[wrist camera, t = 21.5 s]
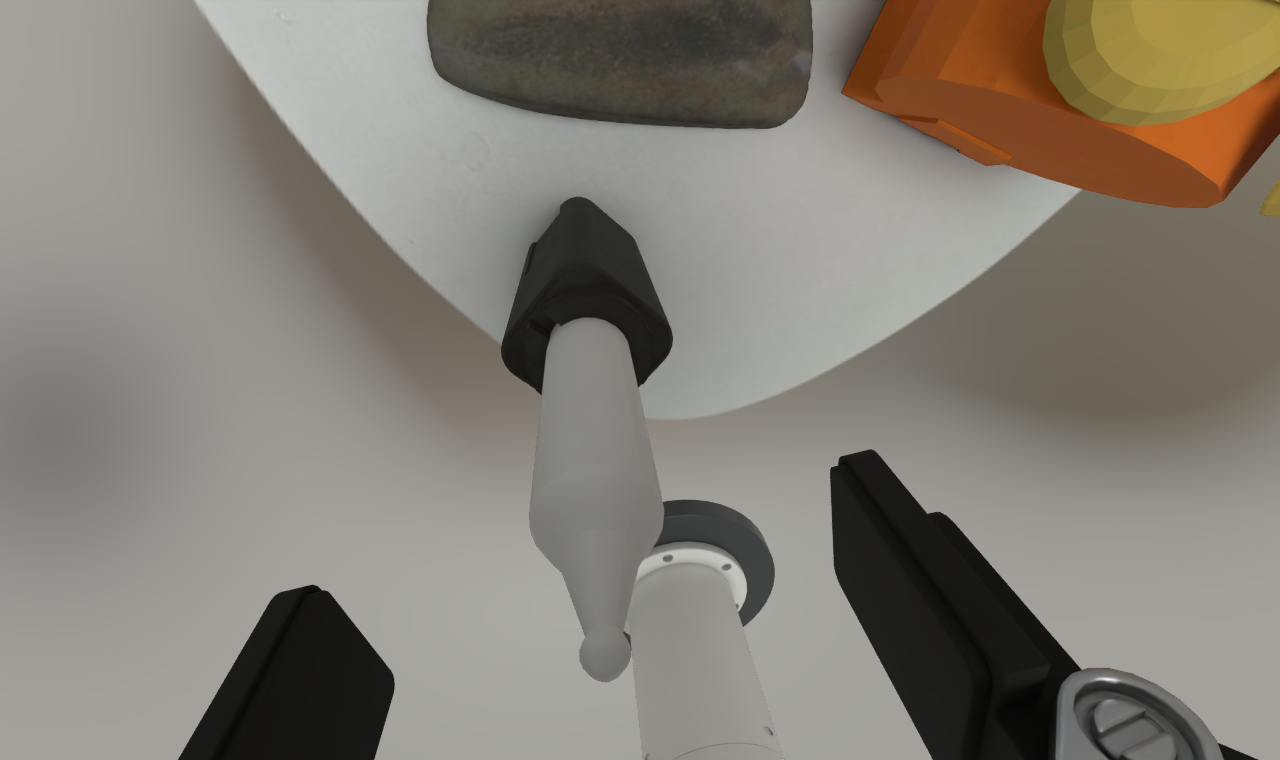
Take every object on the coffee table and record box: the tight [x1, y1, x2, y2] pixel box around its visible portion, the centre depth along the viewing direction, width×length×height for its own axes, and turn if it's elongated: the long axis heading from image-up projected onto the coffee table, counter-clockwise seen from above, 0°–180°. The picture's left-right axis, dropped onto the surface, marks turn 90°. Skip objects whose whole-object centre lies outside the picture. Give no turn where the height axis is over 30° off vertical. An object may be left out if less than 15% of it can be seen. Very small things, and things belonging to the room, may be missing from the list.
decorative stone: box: [427, 0, 813, 129], centre depth 24 cm, size 17×6×4 cm, turn 88°
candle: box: [501, 197, 673, 682], centre depth 19 cm, size 5×5×25 cm
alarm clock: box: [842, 0, 1280, 217], centre depth 19 cm, size 13×6×20 cm, turn 69°
